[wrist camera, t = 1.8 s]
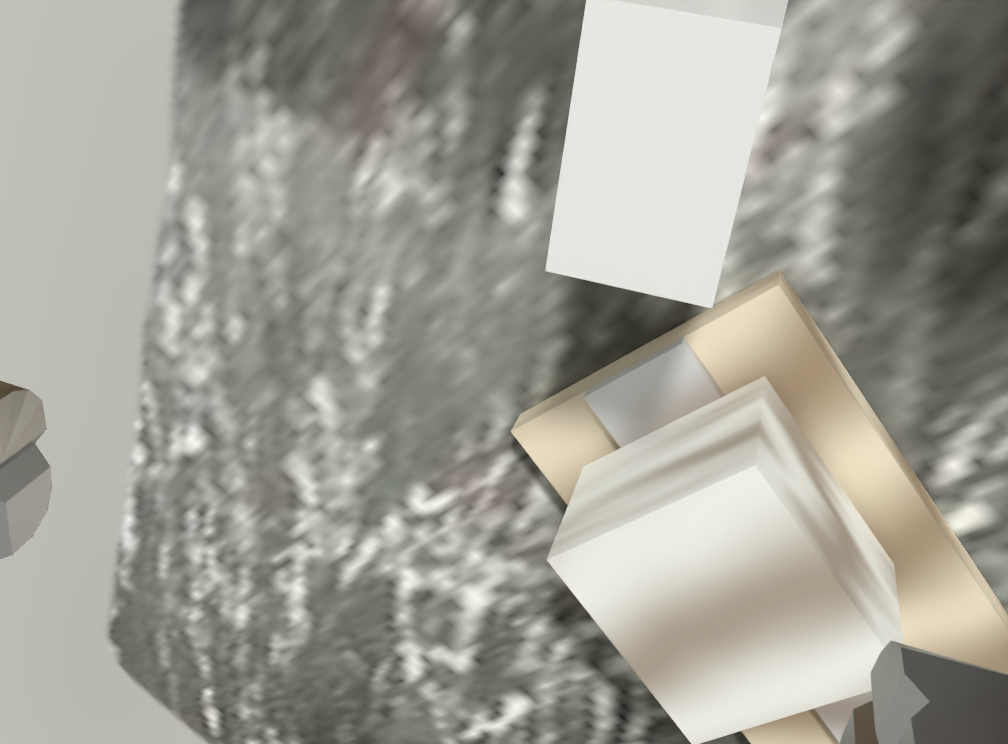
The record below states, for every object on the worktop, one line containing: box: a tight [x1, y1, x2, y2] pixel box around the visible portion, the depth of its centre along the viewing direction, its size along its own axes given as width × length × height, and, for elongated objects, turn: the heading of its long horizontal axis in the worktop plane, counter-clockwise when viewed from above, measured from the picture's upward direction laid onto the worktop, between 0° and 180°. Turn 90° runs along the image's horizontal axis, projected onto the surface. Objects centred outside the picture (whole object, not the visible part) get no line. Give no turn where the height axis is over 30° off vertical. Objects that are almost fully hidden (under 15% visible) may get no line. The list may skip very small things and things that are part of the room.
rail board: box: [511, 270, 1008, 744], centre depth 37 cm, size 34×12×8 cm, turn 38°
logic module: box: [545, 0, 788, 308], centre depth 28 cm, size 5×7×10 cm, turn 173°
